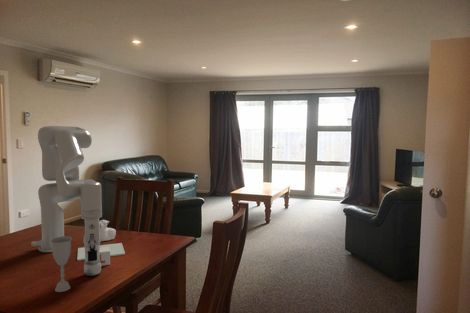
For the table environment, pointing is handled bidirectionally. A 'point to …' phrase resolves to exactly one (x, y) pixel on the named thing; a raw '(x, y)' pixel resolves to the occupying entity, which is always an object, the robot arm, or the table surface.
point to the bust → (106, 231)
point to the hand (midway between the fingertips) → (92, 256)
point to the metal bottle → (91, 266)
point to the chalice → (61, 258)
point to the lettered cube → (104, 256)
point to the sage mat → (114, 248)
